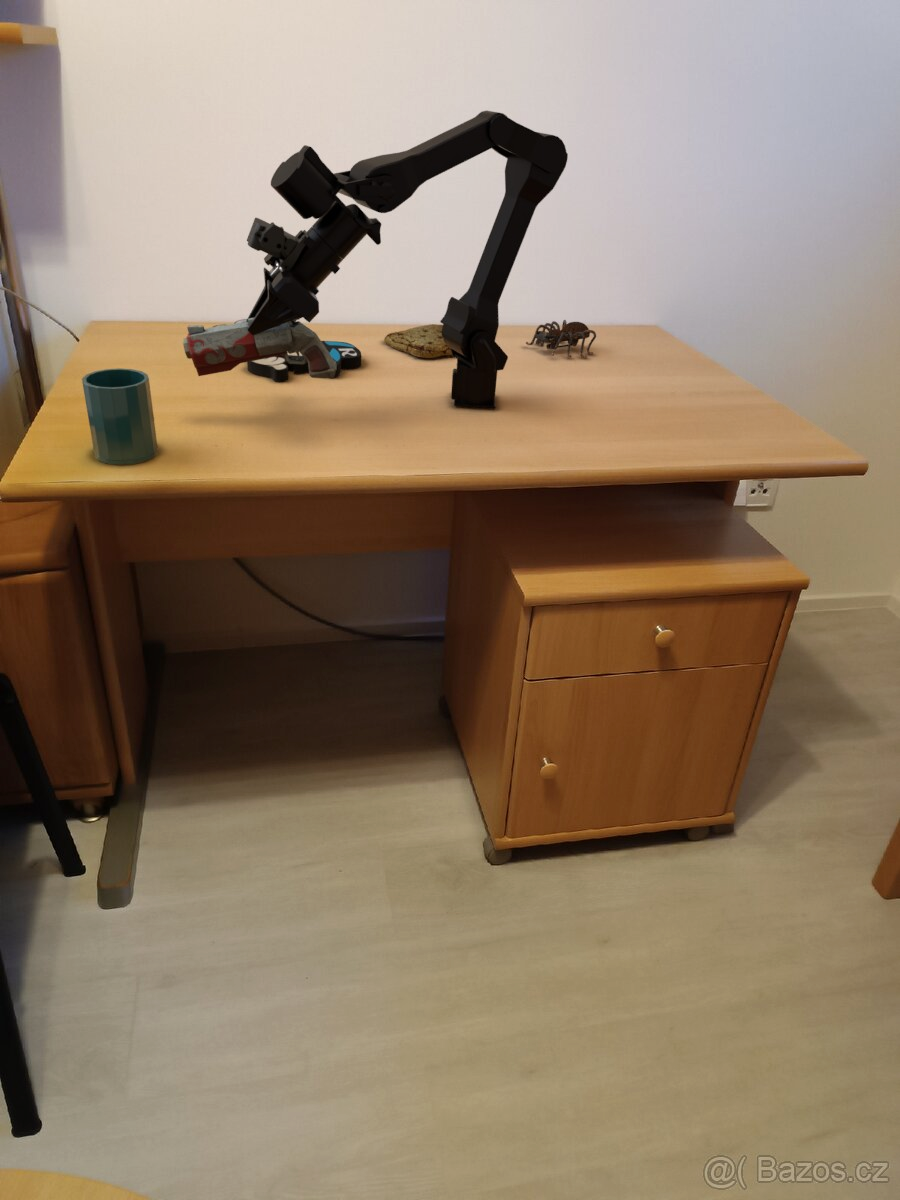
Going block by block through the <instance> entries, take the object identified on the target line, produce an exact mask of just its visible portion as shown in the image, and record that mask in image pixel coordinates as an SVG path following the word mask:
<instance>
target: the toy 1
mask: <svg viewBox="0 0 900 1200" xmlns="http://www.w3.org/2000/svg"><path fill="white" fill-rule="evenodd" d="M247 319H248V318H242V319H238V320H236V321H234V323H233V324H237V323H244V322H246V320H247ZM222 325H223V324H218V325H217V324H216V325H213V326H212V327H217V326H222ZM321 341H322V343H323V344H324V346H325V347H326V349H327V350H328V352H329V353H330V355H331V357H332V358H333V360H334V361H335V363H336V365H337V368H336V373H335V376H334V377H333V378H332V379H335V378H338V377H339V376H340V375H341V373H342V370H355V369H359V368H361V366H362V351H361V350H360V349H359V348H358V347H356V346H355V345H354V344H352V343H349V342H344V341H336V340H335V341H334V340H321ZM287 354H288V357H289V359H290V360H295V361H303V360H305V358H304V357H303V356H302V354H301V353H300V352H299V359H298V360H296V359H297V358H298V356H297V353H296V352H295V353H291V354H289V353H288V351H287ZM246 363H247V371H248V372H249V373H250V374H253V375H256V376H260V377H264V378H269V379H272V381H274V382H275V383H285V382H287V381H288V380H289V372H293V375H302V374H303V375H304V374H307V373H309V367H308V362H307V363H305V364H304V365H303V364H289V363H288V362H287V361H286V360H285V357H284V355H281V356H276V357H271V358H265V359H260V360H255V361H250V362H246Z"/></svg>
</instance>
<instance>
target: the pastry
mask: <svg viewBox="0 0 900 1200" xmlns="http://www.w3.org/2000/svg"><path fill="white" fill-rule="evenodd" d="M442 327H443V324H435V323H434V324H433V323H432V324H425V325H419V326H416V327H412V328H408V329H405V330H399V331H394V332H390V333H388V334H387V335H385V336H384V343H385V344H386V345H387V346H389V347H391V348H393V349H395V350H396V351H400V352H404V353H407V354H409V355H410V356H414V357H418V358H425V359H435V358H439V357H442V356H452V355H451V351H450V347H448V346H447V345H446V343H445V342H444V339H443V336H442Z"/></svg>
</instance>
